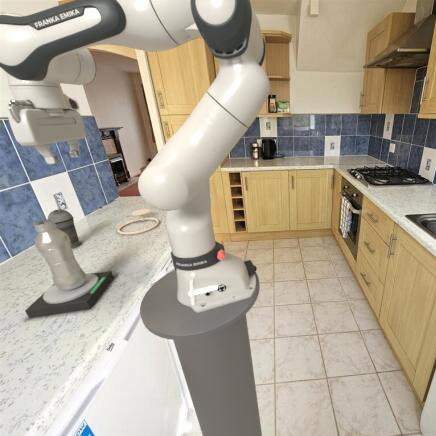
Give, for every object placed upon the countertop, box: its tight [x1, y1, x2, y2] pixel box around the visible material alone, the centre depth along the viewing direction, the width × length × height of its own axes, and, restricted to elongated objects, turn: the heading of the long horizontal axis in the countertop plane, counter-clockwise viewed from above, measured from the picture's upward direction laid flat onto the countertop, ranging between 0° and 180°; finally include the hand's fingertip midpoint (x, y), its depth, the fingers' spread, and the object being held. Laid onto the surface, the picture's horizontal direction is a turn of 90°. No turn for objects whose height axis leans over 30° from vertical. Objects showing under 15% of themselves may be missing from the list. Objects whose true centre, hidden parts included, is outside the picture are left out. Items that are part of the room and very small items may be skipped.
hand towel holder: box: [117, 208, 160, 236], centre depth 113 cm, size 17×4×21 cm
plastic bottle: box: [33, 218, 86, 291], centre depth 65 cm, size 6×7×20 cm
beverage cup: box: [47, 197, 81, 249], centre depth 93 cm, size 7×7×20 cm
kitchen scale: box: [24, 270, 115, 319], centre depth 69 cm, size 14×14×3 cm
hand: (65, 160), depth 63 cm, fingers open, 8 cm apart
